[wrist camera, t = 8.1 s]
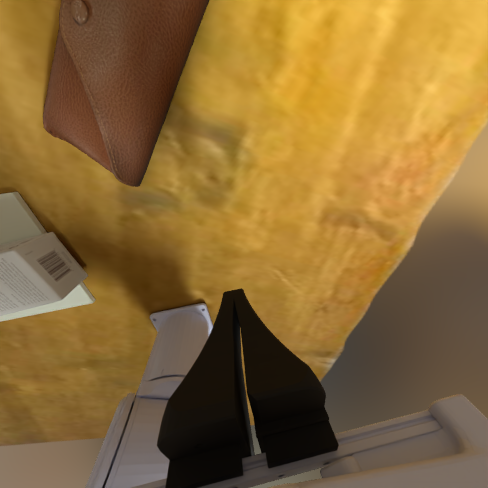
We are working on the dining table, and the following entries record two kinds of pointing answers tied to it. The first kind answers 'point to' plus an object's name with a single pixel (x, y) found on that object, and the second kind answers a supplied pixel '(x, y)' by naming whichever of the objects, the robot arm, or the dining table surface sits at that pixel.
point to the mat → (24, 226)
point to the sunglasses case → (118, 77)
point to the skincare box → (36, 273)
